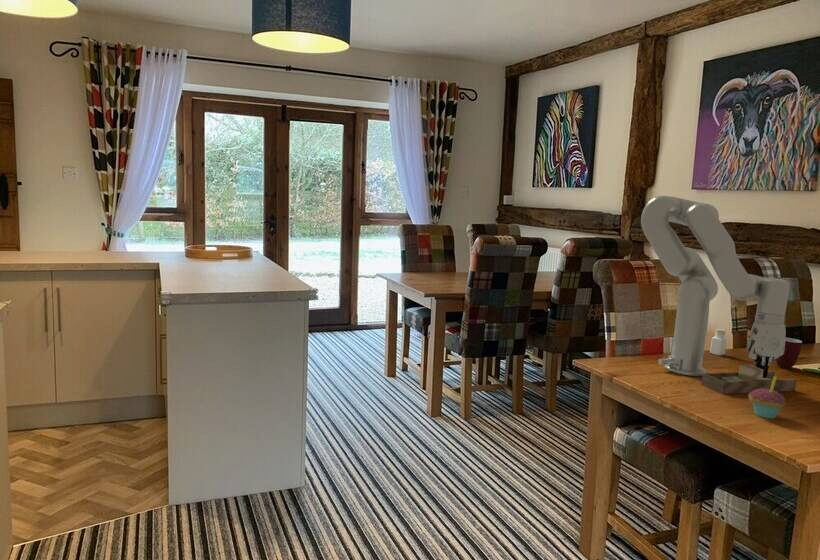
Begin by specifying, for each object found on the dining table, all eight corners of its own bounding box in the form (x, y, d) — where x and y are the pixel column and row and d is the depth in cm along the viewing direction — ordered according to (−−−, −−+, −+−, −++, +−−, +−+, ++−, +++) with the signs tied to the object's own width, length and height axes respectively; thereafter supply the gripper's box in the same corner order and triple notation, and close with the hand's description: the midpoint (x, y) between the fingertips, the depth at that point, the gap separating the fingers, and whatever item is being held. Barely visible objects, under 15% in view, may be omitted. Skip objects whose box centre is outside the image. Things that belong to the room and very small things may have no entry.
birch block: (749, 382, 179) (751, 370, 179) (737, 378, 183) (739, 365, 183) (761, 382, 180) (763, 369, 180) (749, 377, 185) (751, 365, 184)
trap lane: (722, 393, 175) (724, 382, 174) (700, 384, 183) (702, 373, 183) (794, 390, 183) (796, 379, 182) (771, 381, 191) (772, 371, 190)
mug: (796, 373, 202) (800, 345, 201) (768, 368, 207) (773, 340, 206) (798, 367, 211) (803, 340, 209) (772, 362, 215) (776, 335, 214)
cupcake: (790, 421, 155) (797, 377, 153) (759, 420, 154) (766, 376, 152) (768, 409, 163) (775, 367, 162) (739, 408, 163) (745, 366, 161)
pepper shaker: (719, 356, 220) (722, 331, 218) (709, 353, 223) (712, 328, 222) (725, 355, 222) (729, 330, 221) (715, 352, 225) (718, 327, 224)
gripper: (760, 321, 175) (751, 381, 178) (799, 321, 179) (789, 379, 182) (740, 316, 182) (731, 373, 185) (778, 316, 187) (769, 372, 189)
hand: (760, 376), depth 184 cm, fingers closed
